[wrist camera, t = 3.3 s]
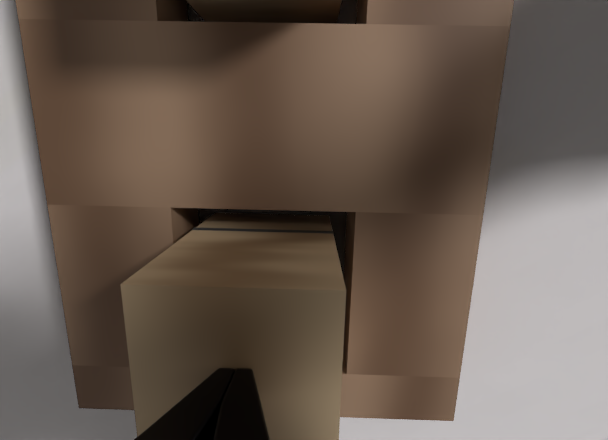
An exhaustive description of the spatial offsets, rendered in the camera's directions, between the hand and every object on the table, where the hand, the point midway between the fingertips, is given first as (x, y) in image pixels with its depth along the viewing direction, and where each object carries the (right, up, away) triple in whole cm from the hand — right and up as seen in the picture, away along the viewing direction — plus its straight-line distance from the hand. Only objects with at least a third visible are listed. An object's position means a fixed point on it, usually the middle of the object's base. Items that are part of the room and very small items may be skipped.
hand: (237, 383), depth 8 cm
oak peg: (0, +2, +8) cm, 8 cm away
